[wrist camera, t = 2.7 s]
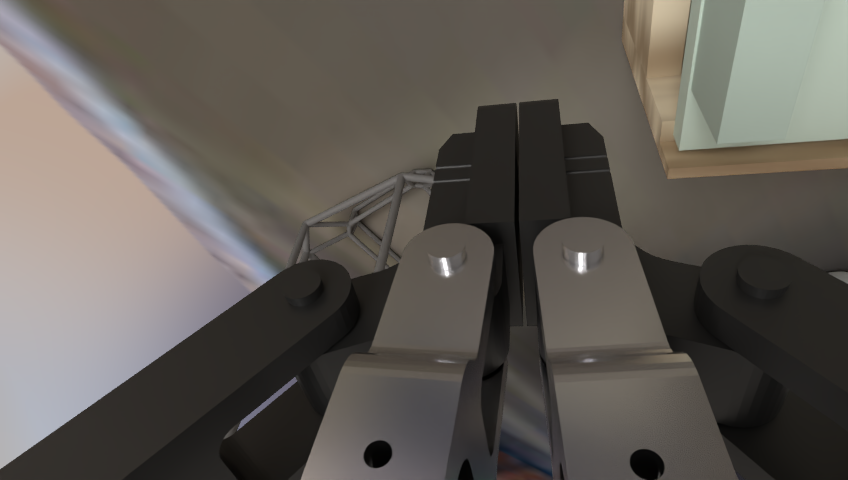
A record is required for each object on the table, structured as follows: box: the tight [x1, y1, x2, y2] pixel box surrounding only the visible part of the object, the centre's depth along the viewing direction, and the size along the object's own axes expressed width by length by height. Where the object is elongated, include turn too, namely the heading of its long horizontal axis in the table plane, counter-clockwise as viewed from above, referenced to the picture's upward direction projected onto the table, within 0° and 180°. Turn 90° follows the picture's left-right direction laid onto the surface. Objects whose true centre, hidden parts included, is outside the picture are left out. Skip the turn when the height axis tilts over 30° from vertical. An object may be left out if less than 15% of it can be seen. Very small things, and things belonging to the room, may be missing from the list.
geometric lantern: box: [224, 169, 435, 439], centre depth 32 cm, size 16×16×35 cm
